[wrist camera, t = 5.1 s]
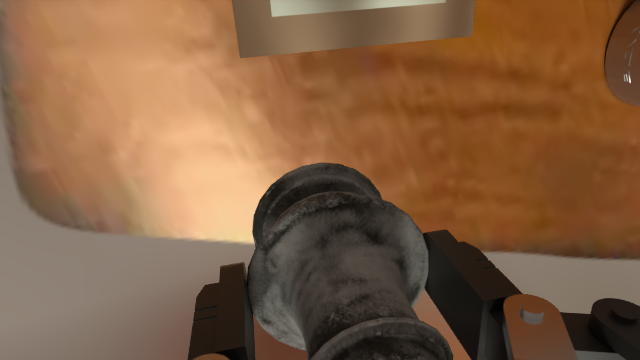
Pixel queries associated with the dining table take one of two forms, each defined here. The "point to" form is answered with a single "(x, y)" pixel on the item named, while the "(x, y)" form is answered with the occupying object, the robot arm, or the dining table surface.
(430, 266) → the robot arm
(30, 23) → the dining table surface
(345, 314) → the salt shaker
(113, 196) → the dining table surface
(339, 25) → the base block
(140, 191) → the dining table surface
